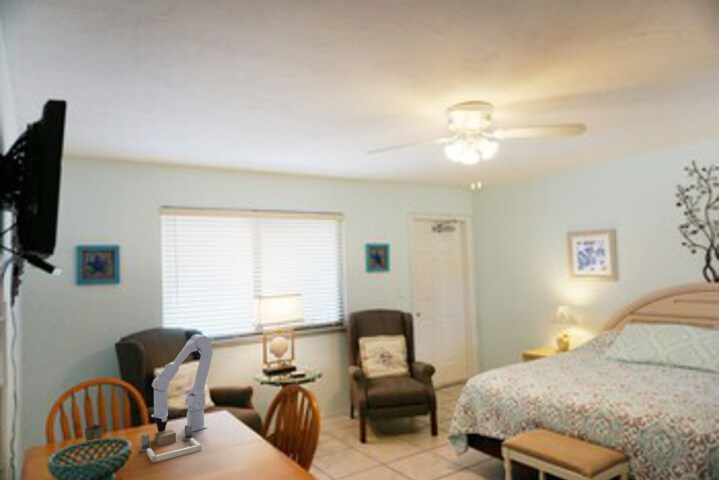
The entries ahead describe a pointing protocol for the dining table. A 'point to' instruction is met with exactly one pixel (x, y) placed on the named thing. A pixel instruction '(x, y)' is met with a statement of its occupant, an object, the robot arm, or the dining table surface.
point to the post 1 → (144, 443)
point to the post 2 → (188, 433)
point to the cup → (94, 432)
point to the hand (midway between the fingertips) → (161, 433)
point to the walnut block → (165, 437)
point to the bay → (174, 452)
